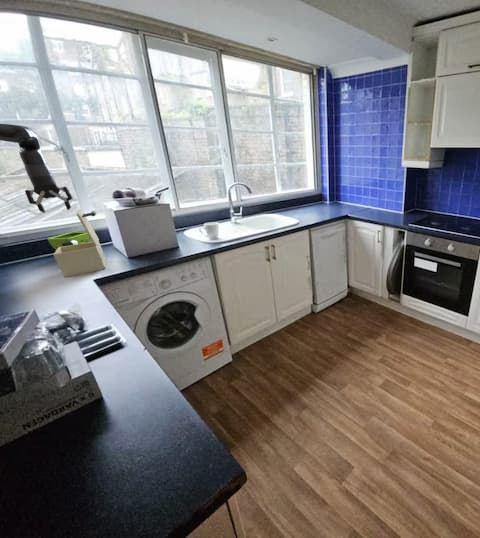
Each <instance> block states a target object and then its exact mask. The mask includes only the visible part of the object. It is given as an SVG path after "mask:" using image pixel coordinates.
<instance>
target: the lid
mask: <svg viewBox="0 0 480 538" xmlns="http://www.w3.org/2000/svg"><path fill="white" fill-rule="evenodd" d="M96 215H97V212H96V211H95V210H92V211H91V212H87V213H85V212H84V210H83V209H80V210H79V211H78V212H76V216H77V219H79V221H80V223H81V225H82V227H83V228H84V230H85V232H87V234H88V235H89V237H90V239H91V241H92V242H93V244H94V246H97V244H98V241H99V240H100V239H99V237H98V235H97V233H96V232H95V230H94V228H93V226H92V225H91V223H90V220H89V219H88V218H87V217H95V216H96ZM99 242H100V241H99Z"/></svg>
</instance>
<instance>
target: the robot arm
mask: <svg viewBox="0 0 480 538" xmlns="http://www.w3.org/2000/svg"><path fill="white" fill-rule="evenodd" d="M0 141H3V142H8V143H15V144H18V147H19V151H18V154H19V157H20V159H21V162H22V164H23V166H24V170H25V172H26V174H27V175H26V176H28V178H29V181H30V182H31V185H32V187H33V189H26V190H24V192H25V195H26V199H27V201H28V202H29V204H30V205H36V206H37V208H38V210H39V212H41V213H42V214H45V213H46V209H45V207H44V205H43V203H42V201H43V200H44V199H54V198H58V199H60V200H61V201H63V204H64V206H65V207H66V210H67V211H70V210H71V209H72V206H71V203H70V201H71V200H73V196H72V194H71V192H70V190H69V187H67V186H62V187H59V186H58V184H57V182H56V180H55V178H54V175H53V174H52V171H51V169H50V167H49V165H48V164H47V161H46V159H45V157H44V155H43V153H42V148H41V144H40V140H39V137H38V135H37V133H36V132H35V131H34V130H33V129H32V128H30V127H29V126H25V125H19V124H12V123H11V124H10V123H0ZM60 191H62V192H63V193H65V195H66V197H65V196H64V195H62V194H61V193H60ZM34 193H35V194H36V195H38V197H37V198H36V200H35V199H34V197H33V195H34Z"/></svg>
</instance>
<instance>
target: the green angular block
mask: <svg viewBox="0 0 480 538" xmlns="http://www.w3.org/2000/svg"><path fill="white" fill-rule="evenodd" d="M71 240H75V241H77V243H78V244H82V243H88V242H92V241H91V239H90V237H89V235H88V234H87V232H86V231H70V232H66V233H62V234H59V235H56V236H52V237H49V238H47V241H48V243H49V244H50V246H51V247H52V248H53V249H55V251H56V250H57V249H58V248H59V247H63V246H62V243H63V242H66V241H71Z"/></svg>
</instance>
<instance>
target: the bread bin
mask: <svg viewBox="0 0 480 538" xmlns="http://www.w3.org/2000/svg"><path fill="white" fill-rule="evenodd" d="M103 250H104V249H103V248H102V245H101V244H100V241H98V244H97V246H94V244H93V242H88V243H87V242H86V243H82V244H76V245H70V246H64V247H59V248H58V249H57V250H55V252H54V253H53V257H54V259H55V261H56V264H57V265H58V268H59V270H60V272H61V273H62V275H63V278H68V277H69V278H70V277H73V276H78V275H83V274H88V273H93V272H97V271H102V270H106V269H107V263H108V260H107V258H106V255H105V253H104V251H103Z"/></svg>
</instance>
